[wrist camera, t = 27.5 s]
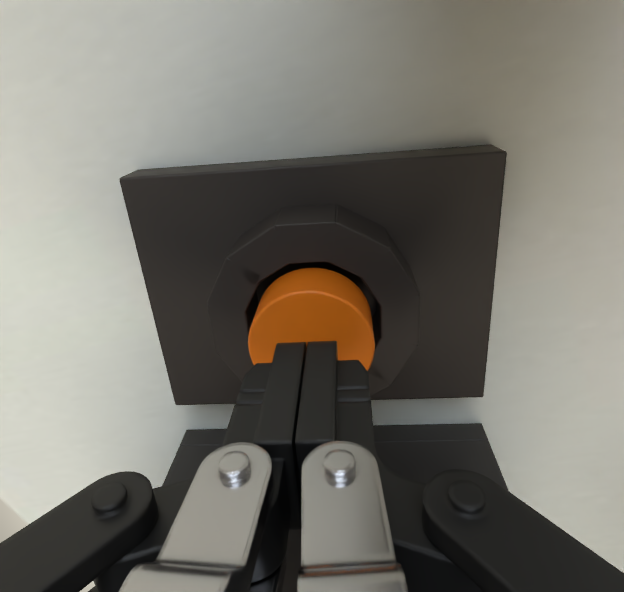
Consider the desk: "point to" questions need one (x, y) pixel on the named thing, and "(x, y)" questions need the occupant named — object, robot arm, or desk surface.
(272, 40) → the desk surface
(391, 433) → the coffee maker
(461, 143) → the desk surface
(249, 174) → the control pad
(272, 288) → the button
